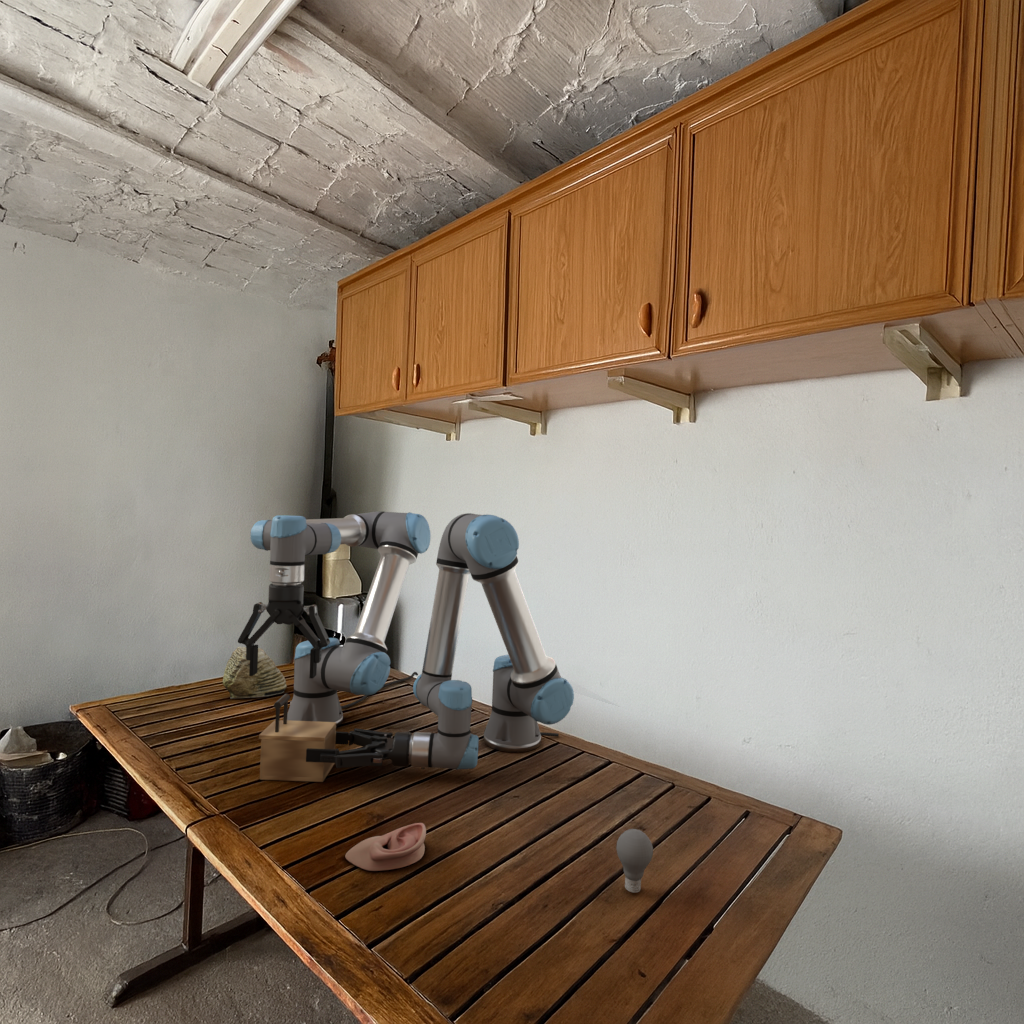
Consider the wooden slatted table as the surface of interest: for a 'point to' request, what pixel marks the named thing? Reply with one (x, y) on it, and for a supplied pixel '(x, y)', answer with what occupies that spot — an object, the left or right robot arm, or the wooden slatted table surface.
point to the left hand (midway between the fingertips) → (283, 675)
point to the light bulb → (634, 857)
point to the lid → (295, 727)
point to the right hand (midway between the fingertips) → (313, 745)
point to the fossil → (252, 686)
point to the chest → (294, 760)
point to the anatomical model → (390, 849)
